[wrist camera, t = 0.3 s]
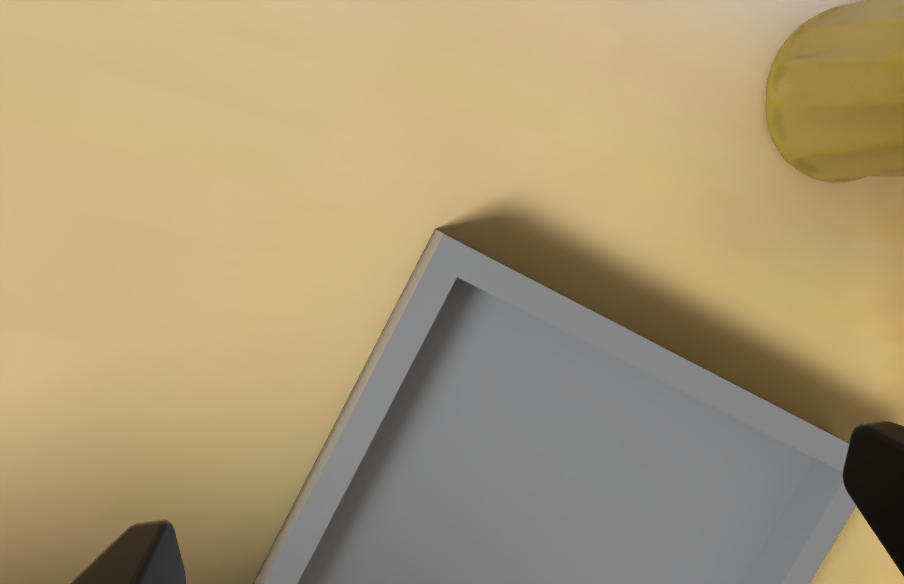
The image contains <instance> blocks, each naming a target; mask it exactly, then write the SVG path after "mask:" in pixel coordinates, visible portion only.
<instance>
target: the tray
mask: <svg viewBox="0 0 904 584" xmlns="http://www.w3.org/2000/svg"><path fill="white" fill-rule="evenodd" d="M848 447H849V443H847V442H846V441H844V440H842V439H840V438H838V437H836V436H834V435H833V434H831V433H829V432H827V431H825V430H823V429H821V428H819V427H817V426H815V425H813V424H811V423H809V422H807V421H805V420H804V419H802V418H800V417H798V416H796V415H794V414H792V413H790V412H788V411H786V410H784V409H782V408H780V407H778V406H777V405H775V404H773V403H771V402H769V401H767V400H765V399H763V398H761V397H759V396H757V395H755V394H753V393H751V392H749V391H748V390H746V389H744V388H742V387H740V386H738V385H736V384H734V383H732V382H730V381H728V380H726V379H724V378H722V377H720V376H719V375H717V374H715V373H713V372H711V371H709V370H707V369H705V368H703V367H701V366H699V365H697V364H695V363H693V362H692V361H690V360H688V359H686V358H684V357H682V356H680V355H678V354H676V353H674V352H672V351H670V350H668V349H666V348H664V347H663V346H661V345H659V344H657V343H655V342H653V341H651V340H649V339H647V338H645V337H643V336H641V335H639V334H637V333H635V332H634V331H632V330H630V329H628V328H626V327H624V326H622V325H620V324H618V323H616V322H614V321H612V320H610V319H608V318H607V317H605V316H603V315H601V314H599V313H597V312H595V311H593V310H591V309H589V308H587V307H585V306H583V305H581V304H579V303H578V302H576V301H574V300H572V299H570V298H568V297H566V296H564V295H562V294H560V293H558V292H556V291H554V290H552V289H550V288H549V287H547V286H545V285H543V284H541V283H539V282H537V281H535V280H533V279H531V278H529V277H527V276H525V275H523V274H522V273H520V272H518V271H516V270H514V269H512V268H510V267H508V266H506V265H504V264H502V263H500V262H498V261H496V260H494V259H493V258H491V257H489V256H487V255H485V254H483V253H481V252H479V251H477V250H475V249H473V248H471V247H469V246H467V245H465V244H464V243H462V242H460V241H458V240H456V239H454V238H452V237H450V236H448V235H446V234H444V233H442V232H440V231H438V230H437V229H435V230H434V232H433V234H432V236H431V238H430V240H429V242H428V244H427V246H426V248H425V249H424V251H423V253H422V255H421V257H420V259H419V261H418V263H417V265H416V267H415V269H414V271H413V273H412V275H411V277H410V279H409V281H408V283H407V285H406V286H405V288H404V290H403V292H402V294H401V296H400V298H399V300H398V302H397V304H396V306H395V308H394V310H393V312H392V314H391V316H390V318H389V320H388V322H387V323H386V325H385V327H384V329H383V331H382V333H381V335H380V337H379V339H378V341H377V343H376V345H375V347H374V349H373V351H372V353H371V355H370V357H369V359H368V360H367V362H366V364H365V366H364V368H363V370H362V372H361V374H360V376H359V378H358V380H357V382H356V384H355V386H354V388H353V390H352V392H351V394H350V396H349V397H348V399H347V401H346V403H345V405H344V407H343V409H342V411H341V413H340V415H339V417H338V419H337V421H336V423H335V425H334V427H333V429H332V431H331V433H330V434H329V436H328V438H327V440H326V442H325V444H324V446H323V448H322V450H321V452H320V454H319V456H318V458H317V460H316V462H315V464H314V466H313V468H312V470H311V471H310V473H309V475H308V477H307V479H306V481H305V483H304V485H303V487H302V489H301V491H300V493H299V495H298V497H297V499H296V501H295V503H294V505H293V507H292V508H291V510H290V512H289V514H288V516H287V518H286V520H285V522H284V524H283V526H282V528H281V530H280V532H279V534H278V536H277V538H276V540H275V542H274V544H273V545H272V547H271V549H270V551H269V553H268V555H267V557H266V559H265V561H264V563H263V565H262V567H261V569H260V571H259V573H258V575H257V577H256V579H255V581H254V582H253V584H809V583H810V582H811V580H812V578H813V577H814V575H815V573H816V572H817V570H818V568H819V567H820V565H821V563H822V562H823V560H824V558H825V557H826V555H827V553H828V552H829V550H830V548H831V546H832V545H833V543H834V541H835V540H836V538H837V536H838V535H839V533H840V531H841V530H842V528H843V526H844V525H845V523H846V521H847V520H848V518H849V516H850V515H851V513H852V511H853V510H854V508H855V506H856V505H855V503H854V502H853V500H852V499H851V497H850V496H849V494H848V492H847V491H846V488H845V486H844V483H843V475H842V474H843V468H844V464H845V460H846V455H847V451H848Z"/></svg>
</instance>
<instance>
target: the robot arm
mask: <svg viewBox="0 0 904 584" xmlns="http://www.w3.org/2000/svg"><path fill="white" fill-rule="evenodd" d="M842 475H843V483H844V486H845V488H846V491H847V492H848V494H849V496H850V497H851V499H852V500H853V502H854V503H855V505H856V506H857V508H858V509H859V510H860V512H861V513H862V515H863V516H864V518H865V519H866V521H867V522H868V524H869V525H870V527H871V528H872V530H873V531H874V533H875V534H876V536H877V537H878V539H879V540H880V542H881V543H882V545H883V546H884V548H885V549H886V551H887V552H888V554H889V555H890V557H891V558H892V560H893V561H894V563H895V564H896V566H897V567H898V569H899V570H900V572H901V573H902V574H903V576H904V426H901V425H898V424H895V423H892V422H887V421H881V422H873V423H866V424H861V425H859V426H857V427H856V428H855V429H854V430H853V432H852V435H851V438H850V443H849V447H848V451H847V455H846V460H845V464H844V468H843V474H842ZM70 584H186V577H185V570H184V566H183V562H182V558H181V554H180V550H179V547H178V543H177V539H176V535H175V531H174V528H173V526H172V524H171V523H170V522H169V521H167V520H158V521H150V522H143V523H137V524H134V525H132V526H131V527H129V528H128V529H127V530H126V531H125V532H124V533H123V534H122V535H121V536H120V537H119V538H117V539H116V540H115V541H114V542H113V543H112V544H111V545H110V546H109V547H108V548H107V549H106V550H105V551H104V552H103V553H102V554H101V555H99V556H98V557H97V558H96V559H95V560H94V561H93V562H92V563H91V564H90V565H89V566H88V567H87V568H86V569H85V570H84V571H83V572H82V573H80V574H79V575H78V576H77V577H76V578H75V579H74V580H73V581H72V582H71V583H70Z"/></svg>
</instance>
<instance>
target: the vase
mask: <svg viewBox="0 0 904 584" xmlns="http://www.w3.org/2000/svg"><path fill="white" fill-rule="evenodd" d="M766 119H767V125H768V128H769V131H770V134H771V137H772V139H773V141H774V143H775V145H776V147H777V148H778V150H779V152H780V153H781V155H782V156H783V157H784V159H785V160H786V161H787V162H788V163H789V164H791V165H792V166H793V167H795V168H796V169H797V170H799V171H801V172H802V173H804V174H806V175H807V176H809V177H812V178H814V179H817V180H821V181H826V182H849V181H854V180H857V179H861V178H864V177H867V176H904V0H866V1H863V2H860V3H856V4H853V5H849V6H844V7H837V8H832V9H830V10H827V11H825V12H823V13H821V14H819V15H817V16H815V17H813V18H812V19H810V20H808V21H806V22H805V23H804V24H802V25H801V26H800V27H799V28H798V29H796V30H795V31H794V32H793V33H792V34H791V35H790V37H789V38H788V39H787V40H786V42H785V43H784V44H783V46H782V47H781V49H780V50H779V52H778V54H777V56H776V58H775V60H774V62H773V64H772V67H771V70H770V73H769V77H768V81H767V89H766Z"/></svg>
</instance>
